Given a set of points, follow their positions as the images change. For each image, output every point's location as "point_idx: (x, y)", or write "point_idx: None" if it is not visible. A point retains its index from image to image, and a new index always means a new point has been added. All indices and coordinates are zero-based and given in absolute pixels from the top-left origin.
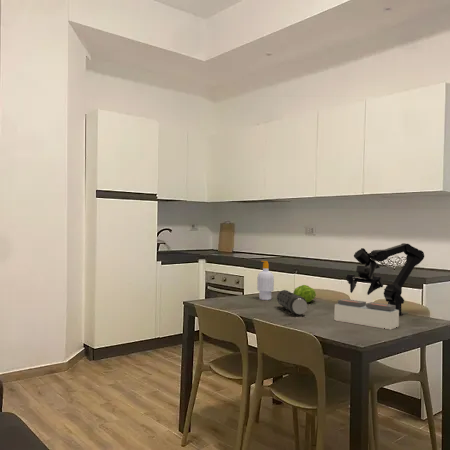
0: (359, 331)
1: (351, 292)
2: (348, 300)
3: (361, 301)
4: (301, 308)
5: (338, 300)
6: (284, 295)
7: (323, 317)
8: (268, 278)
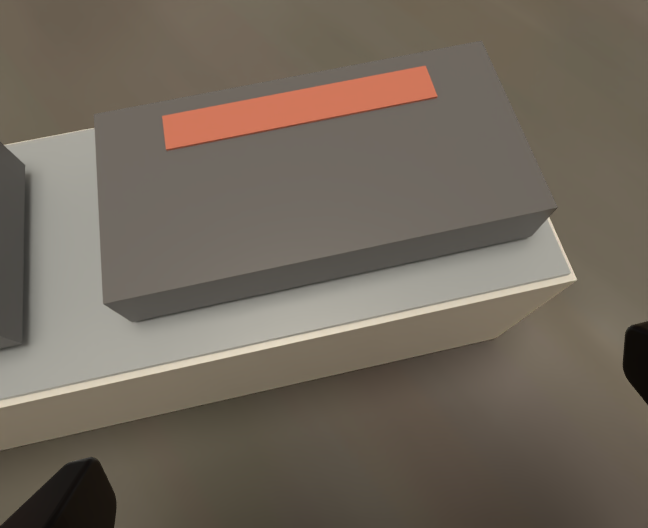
0: (39, 48)
1: (627, 364)
2: (376, 145)
3: (174, 254)
4: None
5: (471, 45)
6: None
7: (593, 180)
8: None
